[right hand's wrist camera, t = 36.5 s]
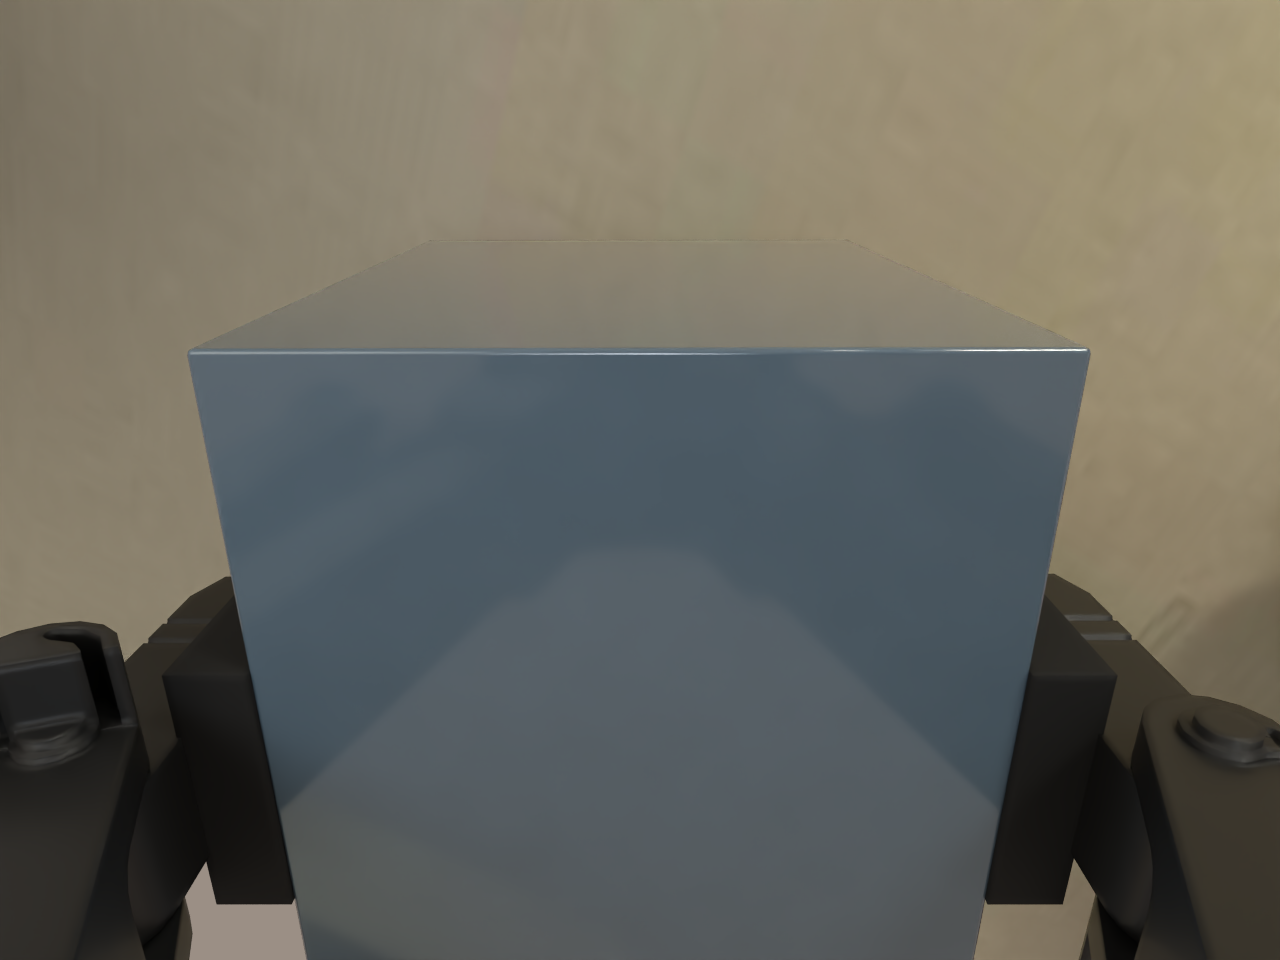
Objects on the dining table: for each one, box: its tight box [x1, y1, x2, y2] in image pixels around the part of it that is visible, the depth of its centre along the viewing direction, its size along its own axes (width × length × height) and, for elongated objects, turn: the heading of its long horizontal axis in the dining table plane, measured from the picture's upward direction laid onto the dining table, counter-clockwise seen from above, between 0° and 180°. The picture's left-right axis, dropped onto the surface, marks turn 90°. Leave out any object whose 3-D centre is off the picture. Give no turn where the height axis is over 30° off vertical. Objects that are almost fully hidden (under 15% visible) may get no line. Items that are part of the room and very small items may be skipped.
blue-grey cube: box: [188, 240, 1090, 960], centre depth 12 cm, size 8×7×8 cm
